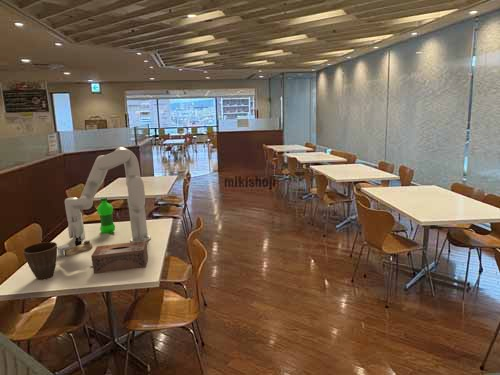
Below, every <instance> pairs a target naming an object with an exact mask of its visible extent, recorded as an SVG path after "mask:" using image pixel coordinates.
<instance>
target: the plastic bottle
mask: <svg viewBox="0 0 500 375" xmlns="http://www.w3.org/2000/svg"><path fill="white" fill-rule="evenodd" d="M99 199H100V202H101V203H100V204H99V205H98V207H97V209H96V212H97V215H99V220H100V228H99V231H100V232H101V233H102V234H108V235H112V234H113V233H114V232H115V229H116V225H115V223H114V220H113V219H114V218H113V212H114V207H113V205H112V204H111V203H109V202H108V197H107V196H104V197H100V198H99Z"/></svg>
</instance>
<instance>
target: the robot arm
mask: <svg viewBox="0 0 500 375" xmlns="http://www.w3.org/2000/svg"><path fill="white" fill-rule="evenodd" d="M121 165H124V166H123V167H124V171H125V183H126V184H125V185H126V186H127V187H126V188H127V194H128V195H127V207H128V212H129V221H130V228H131V230H130V231H131V236H132V237H131V238H129V241H130V242H139V241H146V242H148V241H150V240H151V235H149V234H148V227H147V226H148V224H147V216H146V215H147V214H146V209H145V208H146V206H145V204H146V193H145V192H146V191H145V184H144V183H145V182H144V181H143V179H142V177H141V170H140V164H139V160H138V158H137V156H136V154H135V153H134V152H133V151H131V150H130V149H128V148H126V147H123V146H119V147H117V148H116V149H115V150H114V151H112V152H110V153H107V154H103V155H102V154H101V155H98V156H97V157H96V159H95V161H94V163H93V165H92V168H91V170H90V172H89V175H88V177H87V179H86V183H85V185H84V187H83V190H82V192H81V194H80V197H79V198H78V197H76V196H75V197H74V196H73V197H72V196H71V197H67V198H65V199H64V207H65V214H66V218H67V222H68V224H67V228H68V229H67V230H68V237H69V239H72V241H73V242H74V245H75V246H78V245H81V244H83V243H82V239H81V235H82V234H83V227H82V222H81V220H82V219H81V212H82V211H81V210H89V209H91V208H92V207H93V205H94V199H95V196H96V194H97V192H98V191H99V188H100V187H101V186H102V184H103V182H104V180H105V178H106V176H107V173H108V171H109V170H112V169H115V168H116V167H118V166H121ZM72 237H73V238H72ZM130 242H129V243H130ZM75 246H74V247H75Z"/></svg>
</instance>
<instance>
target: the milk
mask: <svg viewBox="0 0 500 375" xmlns="http://www.w3.org/2000/svg"><path fill="white" fill-rule="evenodd" d="M80 212H81V219H82V220H81V222H82V227H83V234H82V235H81V240H84V239H86V232H85V225H84V221H83V213H82V211H80ZM71 239H73V237H72V238H71Z"/></svg>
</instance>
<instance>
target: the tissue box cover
mask: <svg viewBox="0 0 500 375" xmlns="http://www.w3.org/2000/svg"><path fill="white" fill-rule="evenodd" d="M147 245H148V244H147V241H139V242H123V243H114V244H106V245H104V244H103V245H98V246H96V247H95V249H94V251H93V252H92V254H91V256H90V257H91V264H92V271H93V275H96V274H104V273H112V272H120V271H121V272H122V271H128V270H136V269H137V270H138V269H144V268H145V269H146V268H147V263H148V259H149V255H148V246H147Z"/></svg>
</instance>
